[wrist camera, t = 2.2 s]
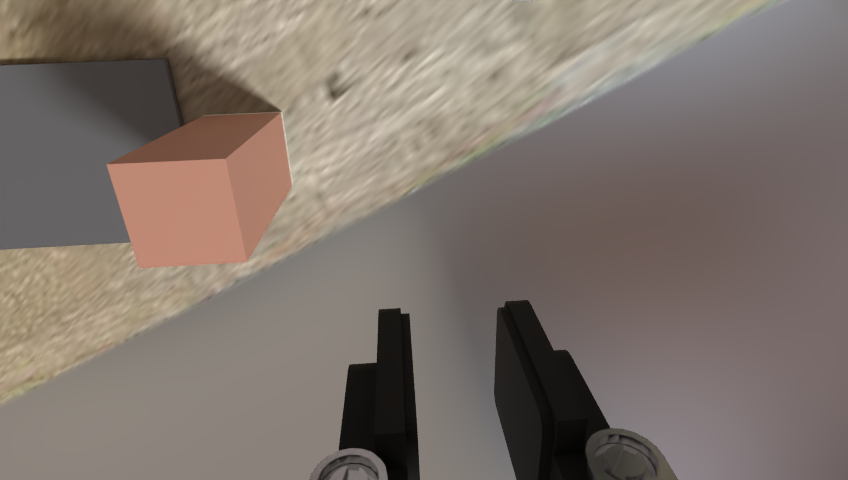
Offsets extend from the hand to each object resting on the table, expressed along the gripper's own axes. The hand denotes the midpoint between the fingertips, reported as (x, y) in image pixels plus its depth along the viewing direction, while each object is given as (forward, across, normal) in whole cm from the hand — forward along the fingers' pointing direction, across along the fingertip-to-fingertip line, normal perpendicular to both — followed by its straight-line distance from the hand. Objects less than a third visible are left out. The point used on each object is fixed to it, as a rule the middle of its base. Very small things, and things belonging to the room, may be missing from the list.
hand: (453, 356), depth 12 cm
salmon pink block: (+23, +11, 0) cm, 26 cm away
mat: (+23, +23, 0) cm, 33 cm away
